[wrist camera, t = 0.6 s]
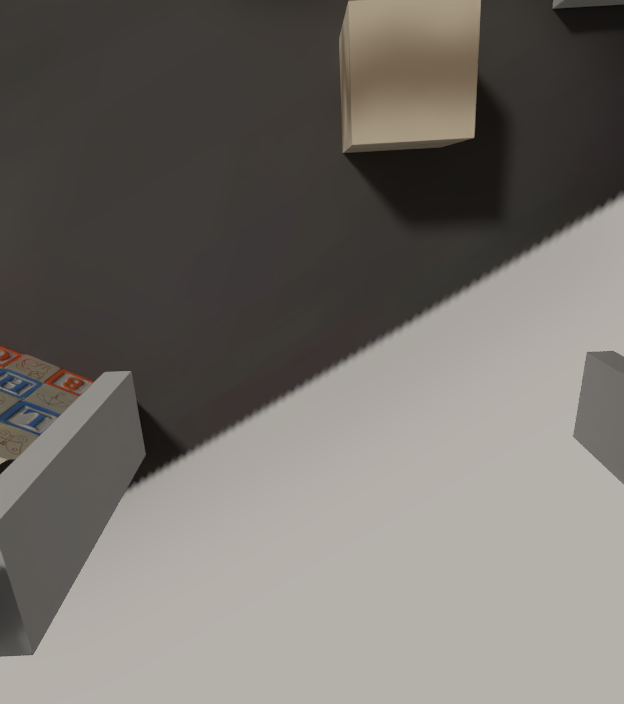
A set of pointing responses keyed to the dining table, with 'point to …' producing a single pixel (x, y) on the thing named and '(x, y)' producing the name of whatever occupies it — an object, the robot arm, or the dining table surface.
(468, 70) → the maple block
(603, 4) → the base plate
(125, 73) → the dining table surface
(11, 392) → the stack of blocks
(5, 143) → the dining table surface
